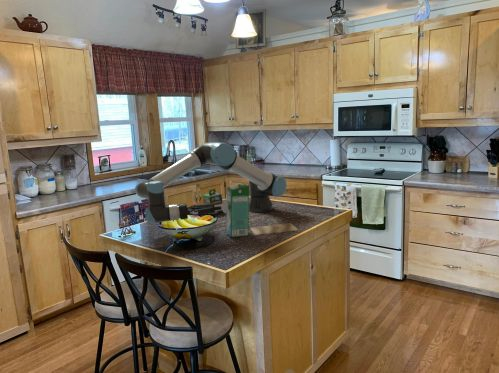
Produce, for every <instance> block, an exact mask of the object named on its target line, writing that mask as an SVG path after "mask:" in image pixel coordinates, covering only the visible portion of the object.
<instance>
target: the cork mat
mask: <svg viewBox="0 0 499 373" xmlns="http://www.w3.org/2000/svg"><path fill="white" fill-rule="evenodd" d="M249 228H250V232H252V234H253V236H254V237H256V236H265V235H274V234H280V233H281V234H282V232H283V233H289V232H296V231H297V232H298V231H299V230H298V228H297V227H296V226H295V225H293V224H292V223H291V222H290V223H281V224H280V223H279V224H271V225H263V226H255V227H249Z"/></svg>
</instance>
